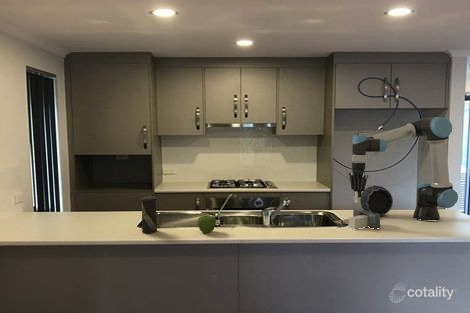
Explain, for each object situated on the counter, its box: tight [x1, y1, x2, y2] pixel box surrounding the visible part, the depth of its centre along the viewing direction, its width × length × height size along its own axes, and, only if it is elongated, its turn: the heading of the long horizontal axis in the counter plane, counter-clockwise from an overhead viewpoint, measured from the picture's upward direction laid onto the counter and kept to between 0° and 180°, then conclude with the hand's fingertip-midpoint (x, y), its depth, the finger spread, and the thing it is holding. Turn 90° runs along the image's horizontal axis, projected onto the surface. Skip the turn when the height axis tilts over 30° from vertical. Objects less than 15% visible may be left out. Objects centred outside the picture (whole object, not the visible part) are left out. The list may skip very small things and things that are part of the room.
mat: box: [333, 218, 349, 225], centre depth 227 cm, size 20×9×1 cm, turn 117°
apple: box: [197, 214, 217, 234], centre depth 204 cm, size 11×10×10 cm
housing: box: [352, 208, 381, 229], centre depth 216 cm, size 4×17×9 cm, turn 27°
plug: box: [348, 213, 369, 230], centre depth 214 cm, size 18×6×7 cm, turn 120°
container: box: [140, 195, 158, 234], centre depth 206 cm, size 9×9×20 cm
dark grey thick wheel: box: [360, 184, 394, 217], centre depth 242 cm, size 11×20×20 cm, turn 96°
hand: (357, 202), depth 212 cm, fingers closed
